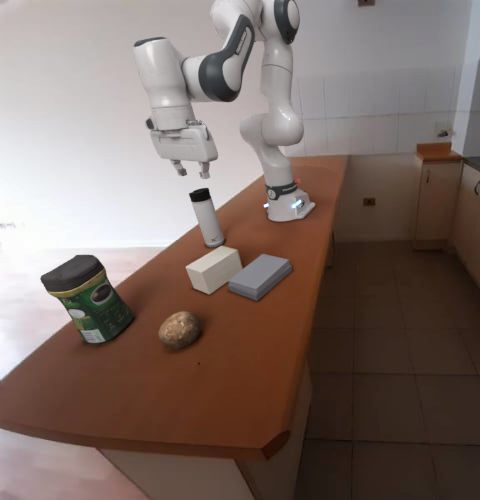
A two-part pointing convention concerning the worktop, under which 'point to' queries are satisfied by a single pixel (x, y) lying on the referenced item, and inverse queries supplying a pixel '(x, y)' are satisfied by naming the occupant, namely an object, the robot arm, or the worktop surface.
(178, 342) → the brown oval lump
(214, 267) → the cream flat block
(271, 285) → the grey book
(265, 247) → the worktop surface
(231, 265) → the white book
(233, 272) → the white book
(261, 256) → the grey book
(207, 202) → the travel mug
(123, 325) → the coffee jar
